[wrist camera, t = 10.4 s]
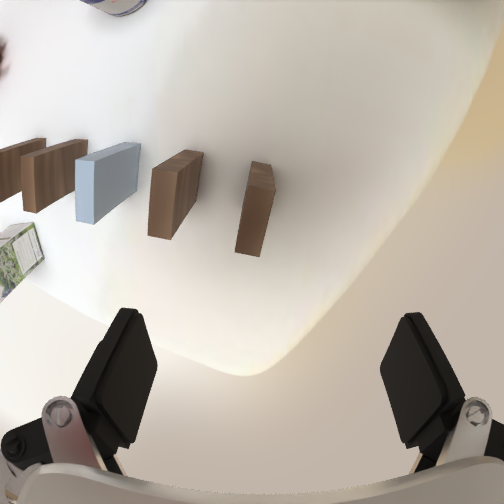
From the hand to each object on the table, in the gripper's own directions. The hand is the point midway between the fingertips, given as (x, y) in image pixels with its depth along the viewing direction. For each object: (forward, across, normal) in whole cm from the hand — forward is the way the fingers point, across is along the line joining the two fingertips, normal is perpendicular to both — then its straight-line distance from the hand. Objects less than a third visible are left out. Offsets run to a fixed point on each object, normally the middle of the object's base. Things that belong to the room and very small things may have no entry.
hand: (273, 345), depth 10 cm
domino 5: (+20, +1, 0) cm, 20 cm away
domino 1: (+20, +26, -5) cm, 34 cm away
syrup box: (+20, +33, +6) cm, 39 cm away
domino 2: (+20, +20, -4) cm, 29 cm away
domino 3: (+20, +14, -2) cm, 24 cm away
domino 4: (+20, +7, -1) cm, 21 cm away
